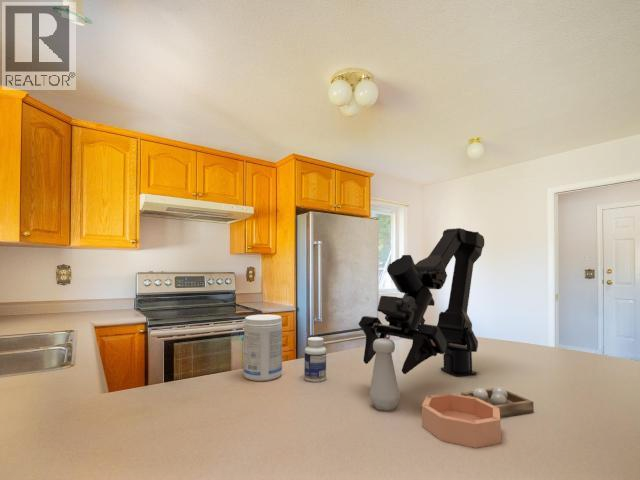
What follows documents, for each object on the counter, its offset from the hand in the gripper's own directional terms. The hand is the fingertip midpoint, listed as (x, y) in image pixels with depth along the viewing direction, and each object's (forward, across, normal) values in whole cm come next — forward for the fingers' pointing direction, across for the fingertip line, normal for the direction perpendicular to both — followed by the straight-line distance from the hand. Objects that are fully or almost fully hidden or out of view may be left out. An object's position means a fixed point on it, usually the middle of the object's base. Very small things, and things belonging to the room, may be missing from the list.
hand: (383, 367), depth 67 cm
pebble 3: (-7, +16, +14) cm, 23 cm away
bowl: (+4, +14, +7) cm, 16 cm away
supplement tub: (+10, -32, +1) cm, 34 cm away
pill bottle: (+4, -22, +7) cm, 23 cm away
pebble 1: (-7, +13, +14) cm, 21 cm away
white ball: (-9, +15, +17) cm, 25 cm away
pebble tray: (-6, +15, +17) cm, 24 cm away
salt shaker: (+5, 0, +6) cm, 8 cm away
